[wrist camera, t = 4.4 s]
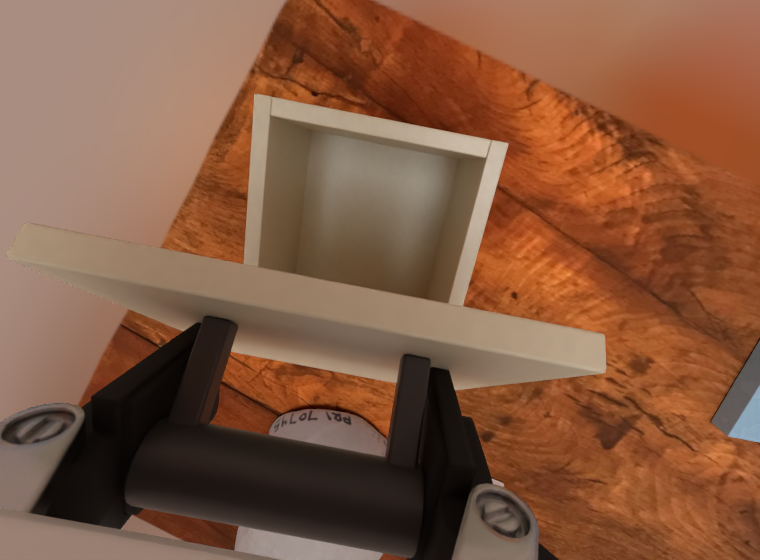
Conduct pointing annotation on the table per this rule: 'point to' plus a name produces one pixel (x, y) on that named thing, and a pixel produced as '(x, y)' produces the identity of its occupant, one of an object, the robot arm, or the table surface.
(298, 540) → the grey rounded lump
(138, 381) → the robot arm
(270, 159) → the chest
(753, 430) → the box
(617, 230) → the table surface
